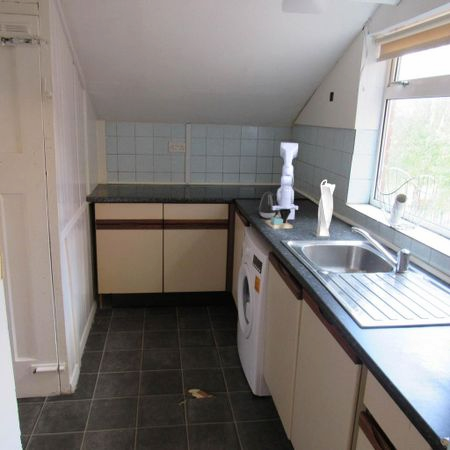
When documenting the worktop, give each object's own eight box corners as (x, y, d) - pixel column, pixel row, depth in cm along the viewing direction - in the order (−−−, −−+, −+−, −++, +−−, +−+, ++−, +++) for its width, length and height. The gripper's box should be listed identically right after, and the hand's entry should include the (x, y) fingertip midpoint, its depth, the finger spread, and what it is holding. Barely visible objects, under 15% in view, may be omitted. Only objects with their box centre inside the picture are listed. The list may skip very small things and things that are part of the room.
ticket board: (282, 222, 246) (283, 214, 245) (292, 228, 234) (293, 219, 233) (264, 223, 243) (265, 214, 241) (273, 228, 230) (274, 220, 229)
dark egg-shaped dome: (271, 220, 250) (273, 193, 246) (255, 217, 255) (256, 192, 251) (279, 216, 258) (280, 191, 255) (263, 214, 263) (264, 189, 260)
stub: (279, 222, 238) (279, 217, 238) (282, 224, 234) (283, 219, 233) (270, 222, 237) (270, 217, 236) (274, 224, 232) (274, 219, 232)
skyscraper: (312, 233, 225) (317, 179, 219) (327, 233, 226) (333, 179, 219) (316, 237, 217) (322, 181, 210) (332, 237, 218) (338, 182, 211)
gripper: (276, 199, 226) (274, 224, 229) (301, 199, 230) (299, 224, 234) (271, 197, 233) (269, 221, 236) (295, 196, 237) (293, 221, 240)
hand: (283, 222), depth 235 cm, fingers closed
